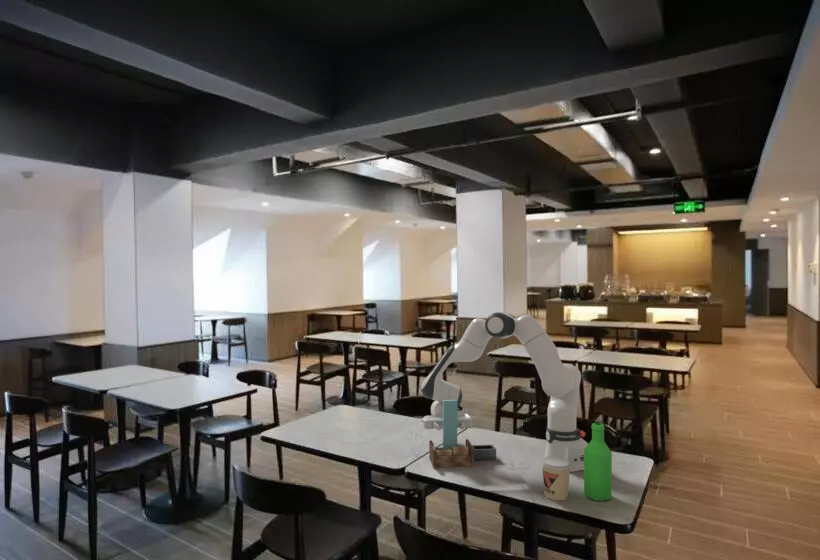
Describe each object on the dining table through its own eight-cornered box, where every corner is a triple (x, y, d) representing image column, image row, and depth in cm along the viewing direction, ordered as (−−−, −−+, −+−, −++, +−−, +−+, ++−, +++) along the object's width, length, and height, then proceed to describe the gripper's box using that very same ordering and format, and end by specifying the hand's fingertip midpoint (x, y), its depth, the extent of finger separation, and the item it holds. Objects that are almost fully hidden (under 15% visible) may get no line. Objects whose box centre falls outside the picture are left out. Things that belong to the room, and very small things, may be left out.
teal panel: (456, 458, 199) (456, 399, 198) (457, 460, 197) (457, 400, 197) (442, 459, 198) (443, 399, 198) (443, 460, 196) (443, 401, 196)
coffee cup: (536, 492, 171) (536, 458, 171) (557, 487, 175) (557, 454, 175) (554, 504, 163) (554, 468, 162) (576, 498, 167) (576, 463, 166)
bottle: (586, 488, 174) (587, 418, 174) (613, 494, 170) (613, 422, 170) (581, 498, 167) (582, 425, 166) (608, 504, 162) (609, 429, 162)
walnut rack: (467, 459, 201) (467, 439, 201) (474, 470, 190) (474, 448, 190) (429, 461, 200) (429, 440, 200) (433, 472, 189) (433, 450, 189)
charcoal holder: (492, 459, 202) (492, 444, 202) (496, 464, 197) (496, 449, 197) (469, 459, 201) (469, 445, 201) (473, 465, 196) (473, 450, 196)
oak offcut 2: (467, 462, 195) (467, 446, 194) (468, 464, 193) (468, 447, 193) (452, 463, 194) (452, 446, 194) (453, 464, 192) (453, 448, 192)
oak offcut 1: (451, 463, 194) (451, 449, 194) (451, 464, 192) (451, 451, 192) (436, 463, 193) (436, 449, 193) (436, 465, 191) (436, 451, 191)
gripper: (420, 411, 209) (424, 420, 196) (467, 409, 211) (475, 419, 198) (420, 425, 209) (424, 436, 196) (467, 424, 211) (475, 434, 198)
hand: (450, 427), depth 197 cm, fingers open, 8 cm apart
